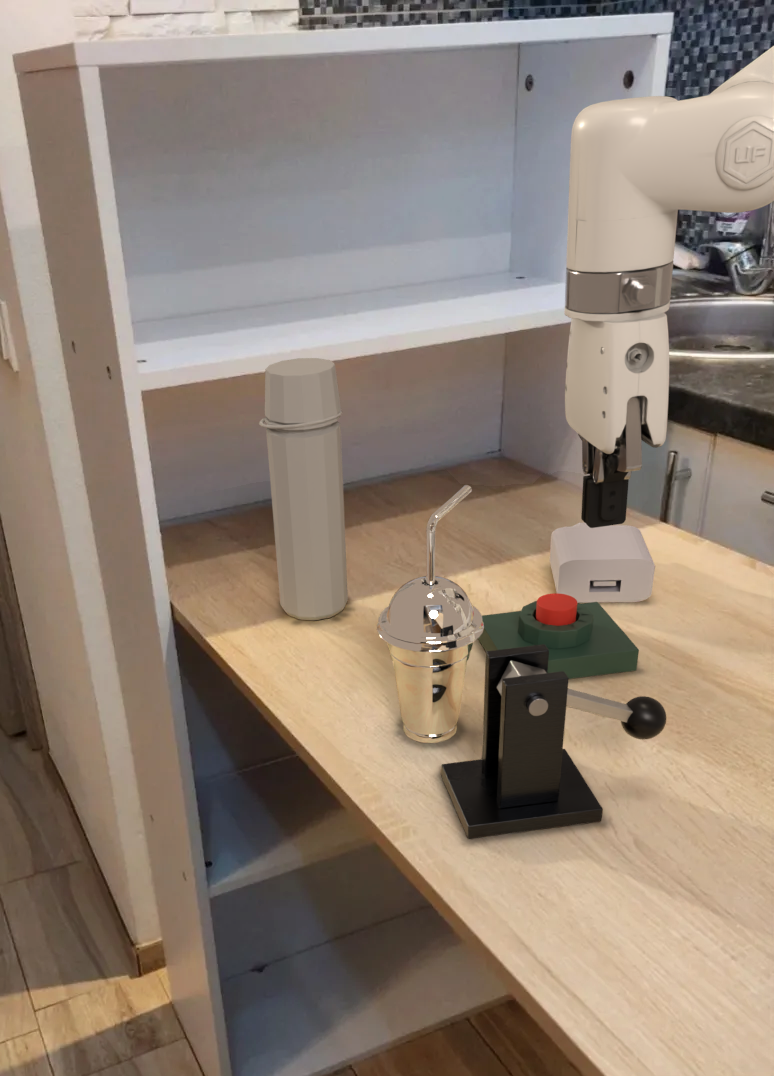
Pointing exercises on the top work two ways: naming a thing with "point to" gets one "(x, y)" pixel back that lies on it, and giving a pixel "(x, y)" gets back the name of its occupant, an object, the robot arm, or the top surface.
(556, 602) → the button
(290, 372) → the water bottle
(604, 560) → the charger
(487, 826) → the black lever stand
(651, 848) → the top surface
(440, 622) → the cup with straw
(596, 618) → the green button base
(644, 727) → the tap lever
